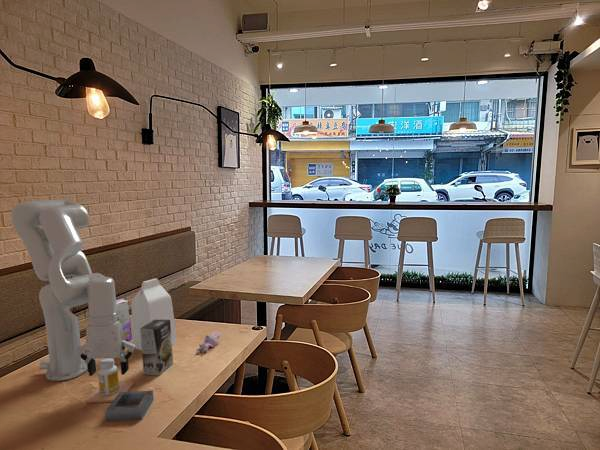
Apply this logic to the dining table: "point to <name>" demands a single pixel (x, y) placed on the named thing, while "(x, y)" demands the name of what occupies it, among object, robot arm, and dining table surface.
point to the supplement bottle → (108, 377)
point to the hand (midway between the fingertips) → (108, 373)
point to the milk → (151, 309)
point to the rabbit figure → (208, 342)
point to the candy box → (124, 317)
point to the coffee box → (156, 347)
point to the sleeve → (129, 413)
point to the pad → (108, 398)
